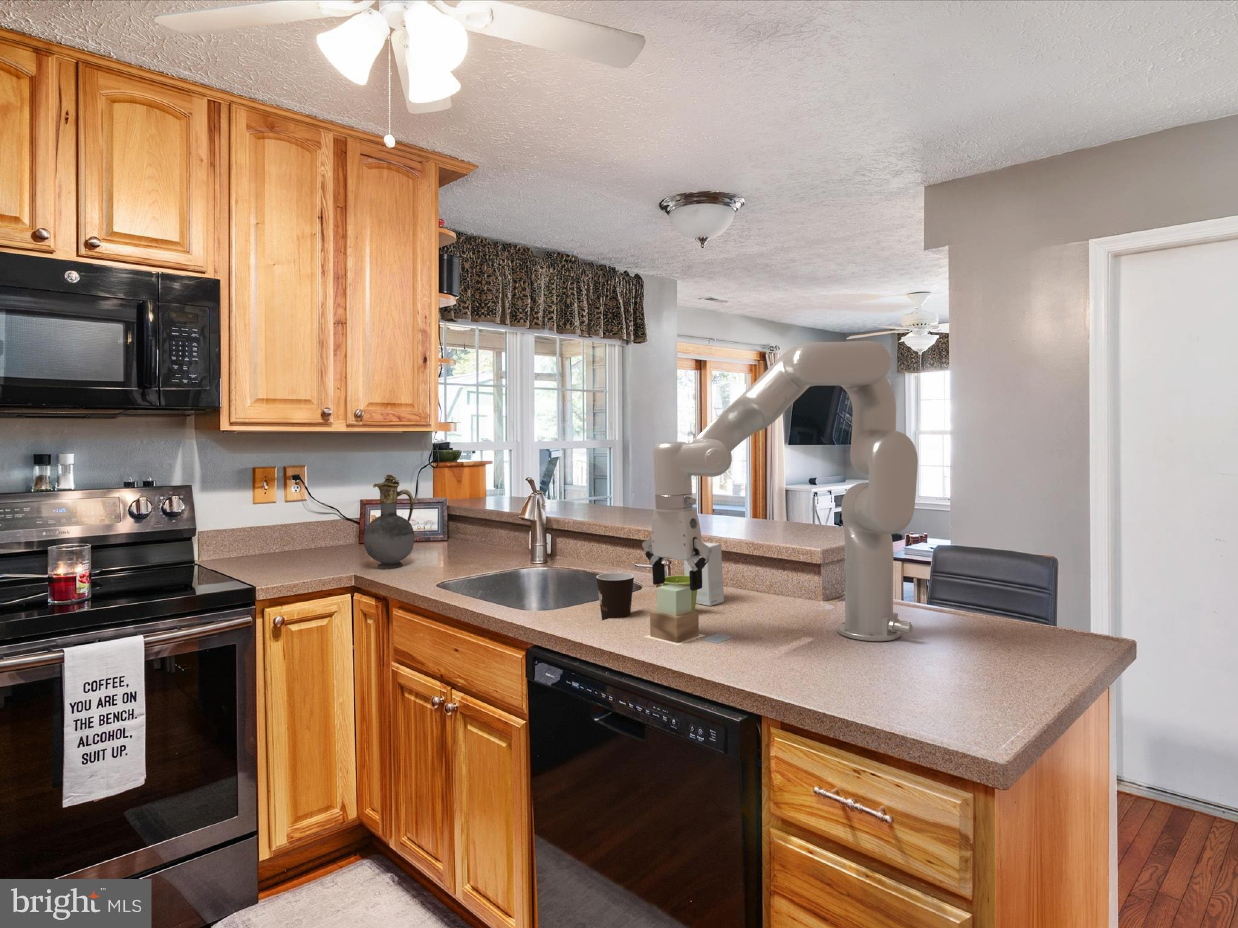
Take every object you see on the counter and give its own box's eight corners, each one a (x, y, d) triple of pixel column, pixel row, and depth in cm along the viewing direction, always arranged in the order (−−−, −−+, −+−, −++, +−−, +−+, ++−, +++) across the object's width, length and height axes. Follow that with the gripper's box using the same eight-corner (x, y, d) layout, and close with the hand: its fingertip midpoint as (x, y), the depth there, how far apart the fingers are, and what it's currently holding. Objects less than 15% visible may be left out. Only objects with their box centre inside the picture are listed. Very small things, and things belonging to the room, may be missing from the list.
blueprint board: (745, 642, 147) (744, 636, 147) (696, 661, 136) (696, 654, 136) (668, 624, 161) (668, 619, 161) (619, 640, 150) (619, 635, 150)
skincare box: (724, 602, 181) (724, 543, 180) (709, 607, 177) (708, 546, 176) (698, 597, 187) (697, 540, 186) (682, 601, 183) (682, 542, 182)
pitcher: (359, 570, 232) (356, 476, 230) (402, 560, 249) (400, 472, 247) (384, 572, 227) (381, 476, 225) (427, 562, 244) (424, 472, 242)
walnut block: (698, 635, 149) (698, 611, 148) (677, 642, 143) (676, 617, 143) (672, 629, 153) (671, 605, 153) (650, 636, 148) (650, 612, 148)
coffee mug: (630, 625, 161) (630, 580, 161) (593, 623, 163) (592, 579, 163) (639, 612, 173) (639, 570, 172) (604, 611, 175) (603, 569, 174)
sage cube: (691, 611, 148) (691, 586, 148) (676, 616, 145) (675, 591, 144) (672, 607, 152) (672, 583, 152) (657, 612, 148) (656, 587, 148)
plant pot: (654, 618, 167) (653, 581, 167) (670, 609, 175) (670, 573, 175) (692, 623, 163) (691, 584, 162) (707, 613, 171) (706, 576, 171)
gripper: (719, 502, 144) (723, 588, 145) (653, 499, 156) (657, 578, 157) (696, 506, 138) (700, 595, 139) (629, 503, 150) (633, 584, 151)
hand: (677, 586), depth 148 cm, fingers open, 9 cm apart
